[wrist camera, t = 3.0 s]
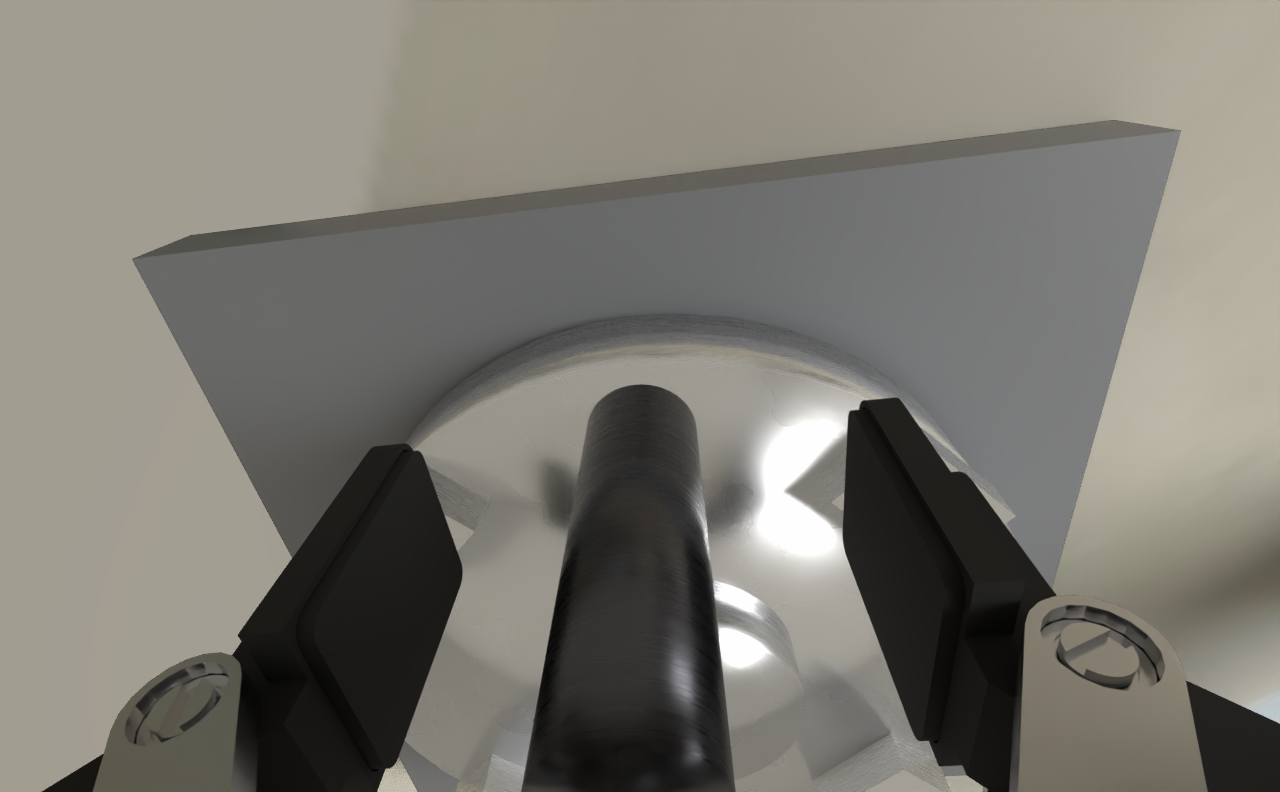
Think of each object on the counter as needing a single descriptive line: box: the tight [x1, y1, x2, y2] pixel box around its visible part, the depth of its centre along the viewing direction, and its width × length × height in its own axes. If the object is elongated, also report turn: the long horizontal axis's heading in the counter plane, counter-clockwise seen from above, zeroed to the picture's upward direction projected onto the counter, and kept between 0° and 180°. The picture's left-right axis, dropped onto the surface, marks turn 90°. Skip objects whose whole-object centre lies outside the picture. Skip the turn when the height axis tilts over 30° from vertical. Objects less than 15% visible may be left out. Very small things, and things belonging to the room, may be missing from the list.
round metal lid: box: [405, 314, 1015, 792], centre depth 14 cm, size 17×17×10 cm
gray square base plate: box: [132, 120, 1181, 792], centre depth 19 cm, size 22×22×2 cm
